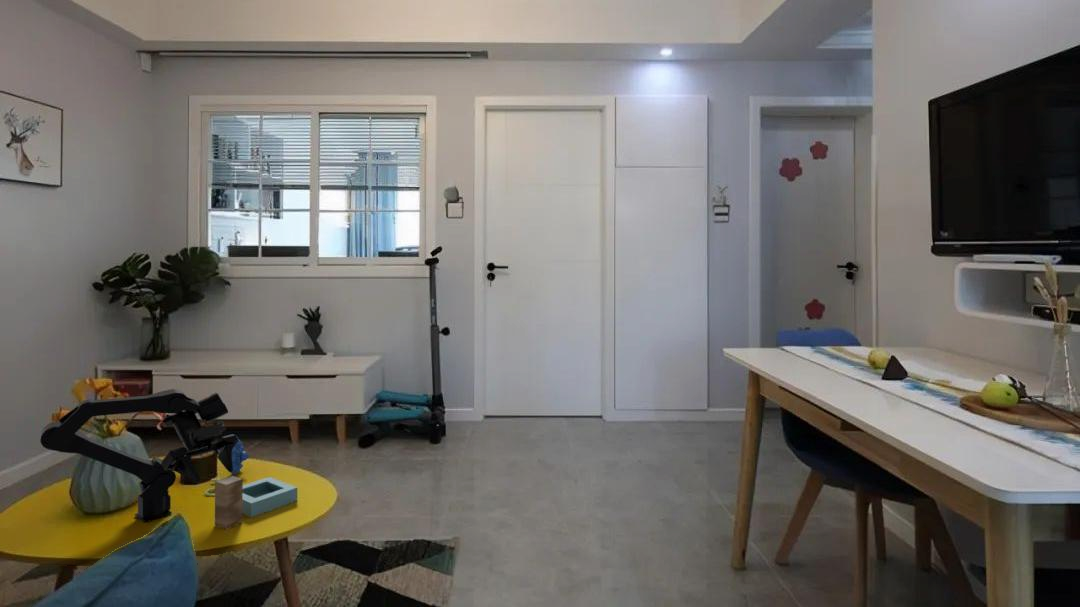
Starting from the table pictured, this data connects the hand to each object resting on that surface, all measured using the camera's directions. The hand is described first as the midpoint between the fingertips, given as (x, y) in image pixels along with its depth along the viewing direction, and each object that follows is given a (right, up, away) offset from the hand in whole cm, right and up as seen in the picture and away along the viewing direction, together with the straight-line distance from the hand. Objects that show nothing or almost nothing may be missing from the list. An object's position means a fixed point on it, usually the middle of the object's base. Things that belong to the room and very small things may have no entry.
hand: (215, 476), depth 149 cm
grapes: (-12, -10, +33) cm, 37 cm away
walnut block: (+5, -12, -2) cm, 13 cm away
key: (-11, -11, +21) cm, 26 cm away
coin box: (+6, -11, +12) cm, 17 cm away
